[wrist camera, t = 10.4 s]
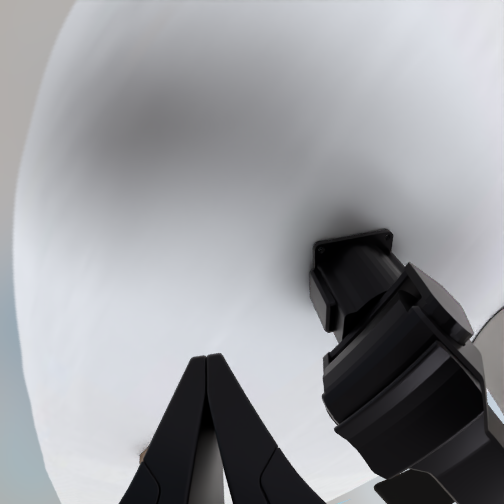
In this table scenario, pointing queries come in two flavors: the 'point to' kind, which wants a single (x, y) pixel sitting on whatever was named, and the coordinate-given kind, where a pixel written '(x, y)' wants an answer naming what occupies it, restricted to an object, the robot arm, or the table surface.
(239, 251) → the table surface
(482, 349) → the cylinder vase
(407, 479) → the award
